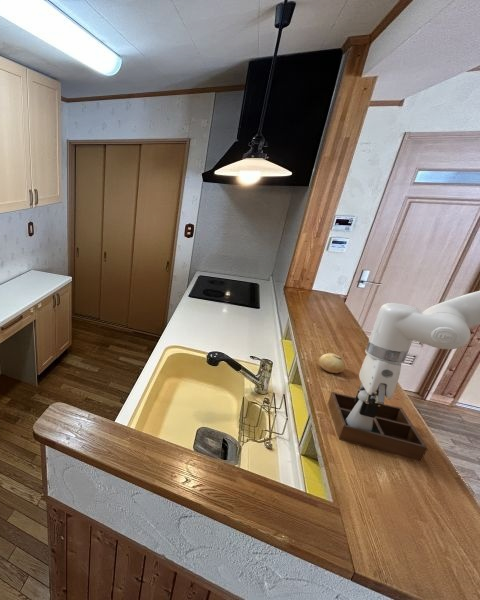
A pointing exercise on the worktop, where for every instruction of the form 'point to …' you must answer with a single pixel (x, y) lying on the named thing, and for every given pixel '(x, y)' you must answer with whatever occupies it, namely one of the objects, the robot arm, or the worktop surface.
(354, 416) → the salt shaker
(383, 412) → the grid
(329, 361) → the tan oval lump
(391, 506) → the worktop surface
